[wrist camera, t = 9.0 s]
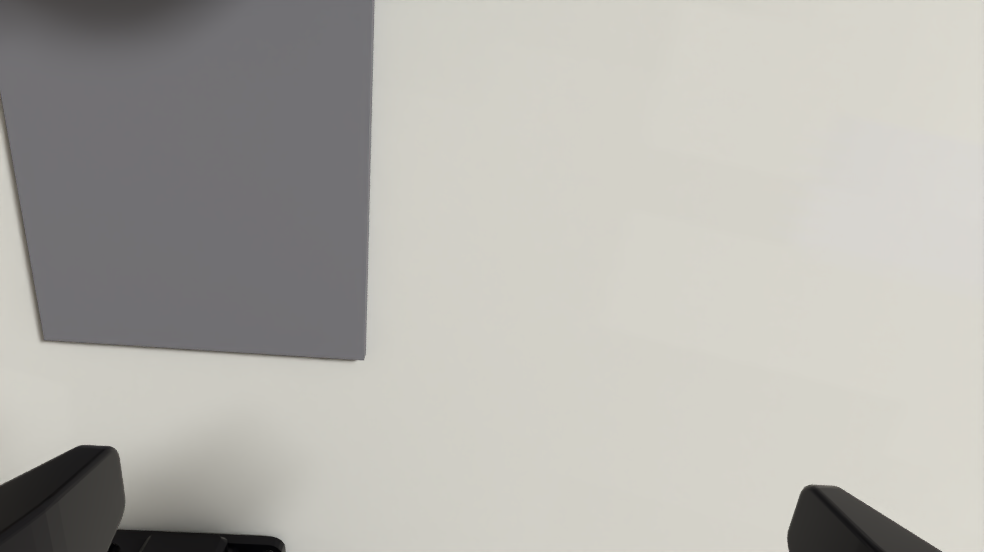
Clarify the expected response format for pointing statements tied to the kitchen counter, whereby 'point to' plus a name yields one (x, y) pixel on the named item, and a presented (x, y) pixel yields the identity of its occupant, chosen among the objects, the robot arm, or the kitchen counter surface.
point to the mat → (194, 170)
